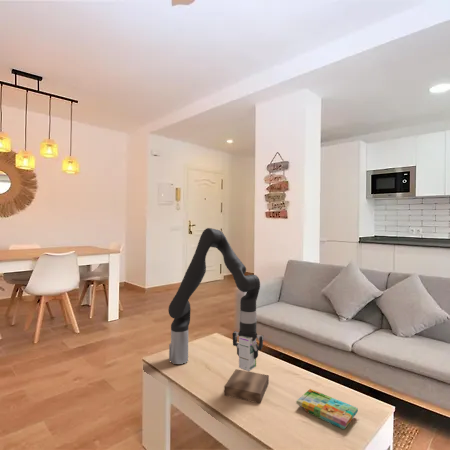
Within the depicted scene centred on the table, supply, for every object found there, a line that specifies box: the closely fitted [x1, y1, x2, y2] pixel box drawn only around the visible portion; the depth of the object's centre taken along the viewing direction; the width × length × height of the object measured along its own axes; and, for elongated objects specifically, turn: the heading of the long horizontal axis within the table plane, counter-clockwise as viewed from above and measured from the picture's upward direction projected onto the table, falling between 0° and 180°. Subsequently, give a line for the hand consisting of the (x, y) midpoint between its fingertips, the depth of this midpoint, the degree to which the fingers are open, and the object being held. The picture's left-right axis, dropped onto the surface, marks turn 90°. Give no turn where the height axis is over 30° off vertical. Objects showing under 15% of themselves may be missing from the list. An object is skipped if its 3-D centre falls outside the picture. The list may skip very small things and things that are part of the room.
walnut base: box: [223, 368, 270, 404], centre depth 138 cm, size 16×16×4 cm
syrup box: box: [238, 335, 257, 372], centre depth 138 cm, size 6×6×14 cm
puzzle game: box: [295, 388, 359, 430], centre depth 122 cm, size 12×5×20 cm
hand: (247, 356), depth 138 cm, fingers closed on syrup box, 6 cm apart
